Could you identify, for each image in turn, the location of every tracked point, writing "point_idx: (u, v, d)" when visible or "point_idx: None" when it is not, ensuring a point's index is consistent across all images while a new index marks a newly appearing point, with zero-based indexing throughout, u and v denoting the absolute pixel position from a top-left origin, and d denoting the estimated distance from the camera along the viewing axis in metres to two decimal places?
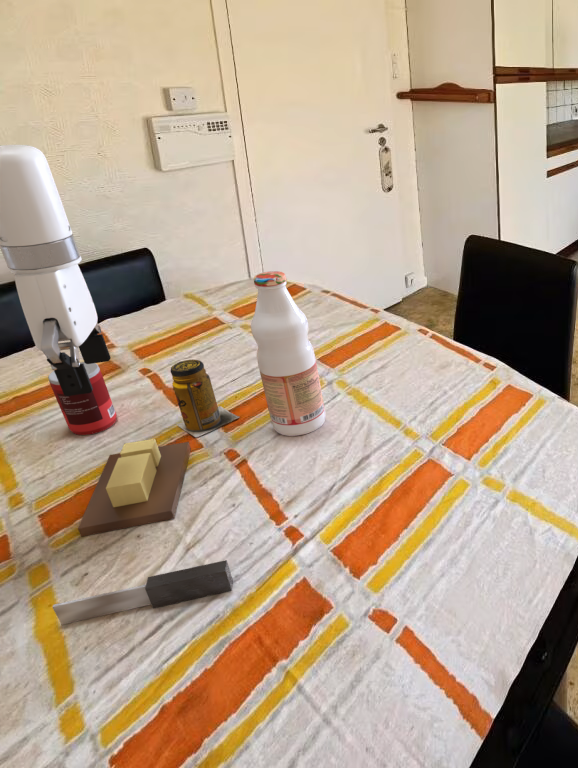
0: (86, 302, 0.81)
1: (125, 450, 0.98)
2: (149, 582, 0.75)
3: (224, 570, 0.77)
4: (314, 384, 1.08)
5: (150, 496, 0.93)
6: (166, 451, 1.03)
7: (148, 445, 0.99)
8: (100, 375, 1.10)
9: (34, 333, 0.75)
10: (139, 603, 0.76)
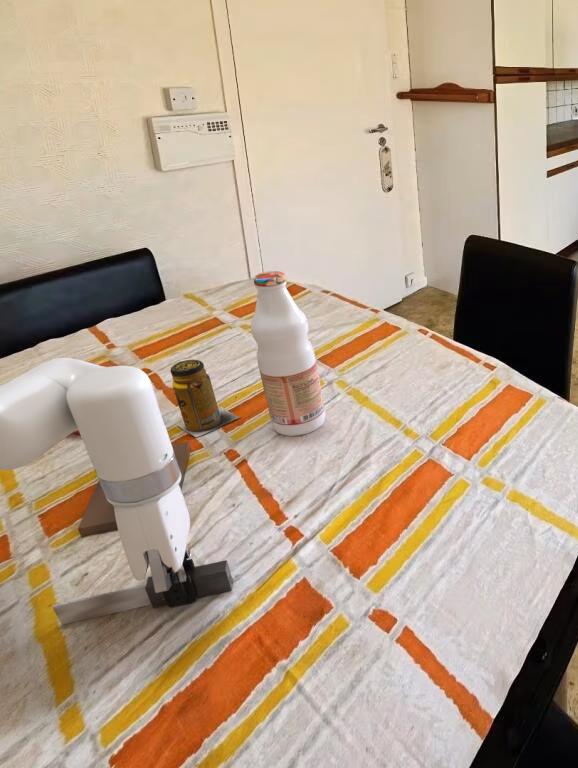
0: (183, 514, 0.74)
1: None
2: (149, 582, 0.75)
3: (224, 570, 0.77)
4: (314, 384, 1.08)
5: None
6: None
7: None
8: None
9: (133, 566, 0.68)
10: (139, 603, 0.76)
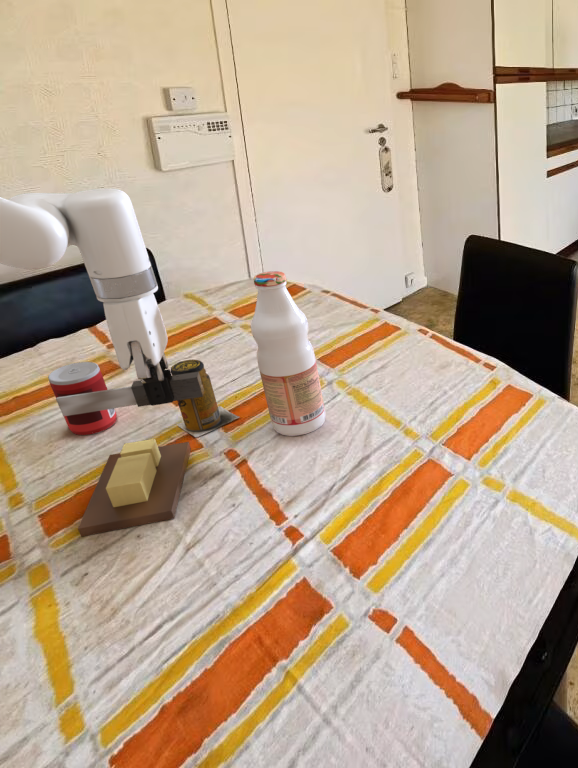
0: (160, 325, 0.91)
1: (125, 450, 0.98)
2: (134, 384, 0.92)
3: (196, 377, 0.94)
4: (314, 384, 1.08)
5: (150, 496, 0.93)
6: (166, 451, 1.03)
7: (148, 445, 0.99)
8: (100, 375, 1.10)
9: (119, 354, 0.85)
10: (126, 402, 0.93)
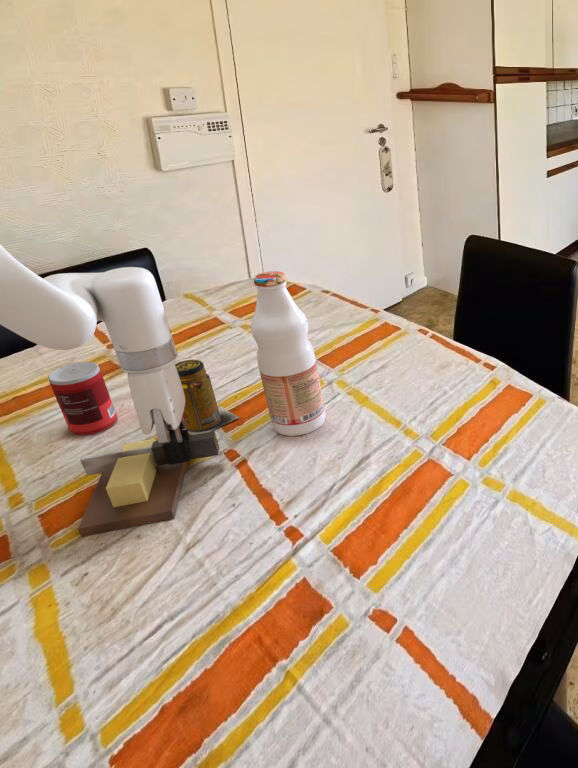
0: (179, 389, 0.96)
1: (125, 450, 0.98)
2: (154, 444, 0.97)
3: (212, 437, 0.99)
4: (314, 384, 1.08)
5: (150, 496, 0.93)
6: None
7: (148, 445, 0.99)
8: (100, 375, 1.10)
9: (141, 421, 0.90)
10: None
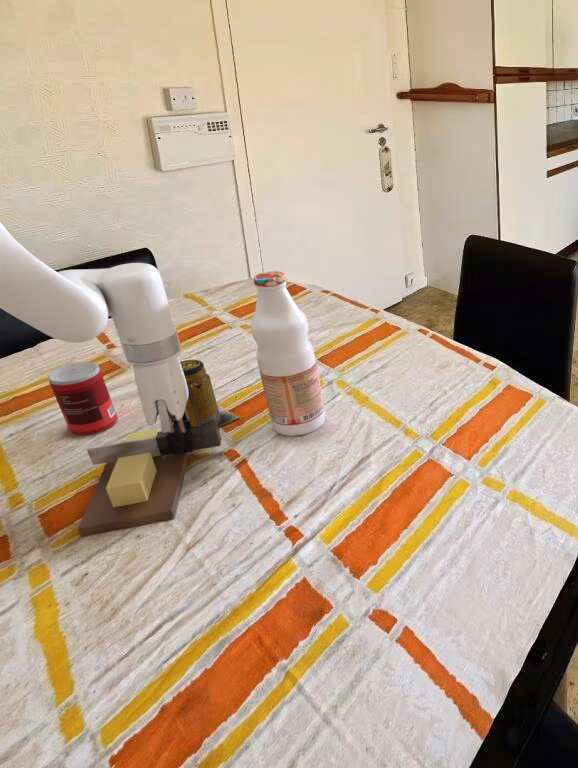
0: (183, 382, 0.99)
1: (129, 439, 1.00)
2: (158, 435, 1.00)
3: (215, 428, 1.02)
4: (314, 384, 1.08)
5: (150, 496, 0.93)
6: None
7: (152, 435, 1.01)
8: (100, 375, 1.10)
9: (146, 412, 0.93)
10: (151, 451, 1.01)
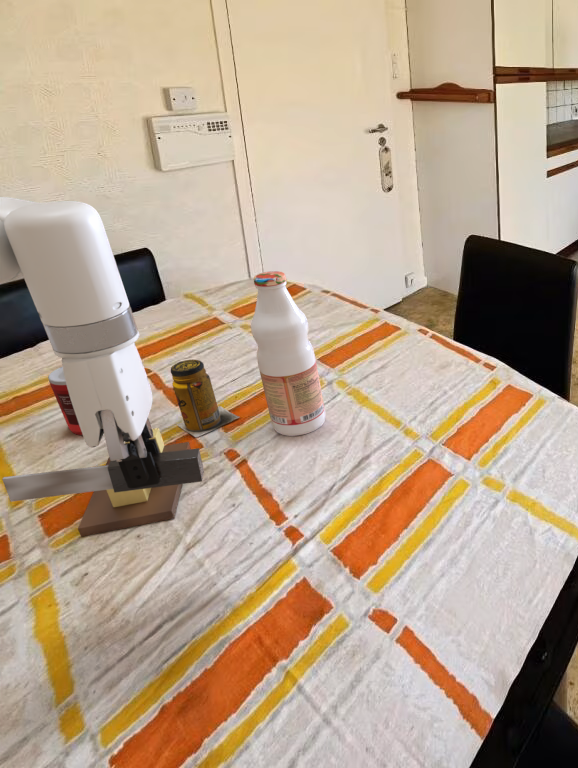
0: (142, 383, 0.67)
1: None
2: (112, 462, 0.69)
3: (196, 457, 0.71)
4: (314, 384, 1.08)
5: (150, 496, 0.93)
6: (166, 451, 1.03)
7: None
8: None
9: (84, 428, 0.62)
10: (99, 485, 0.70)
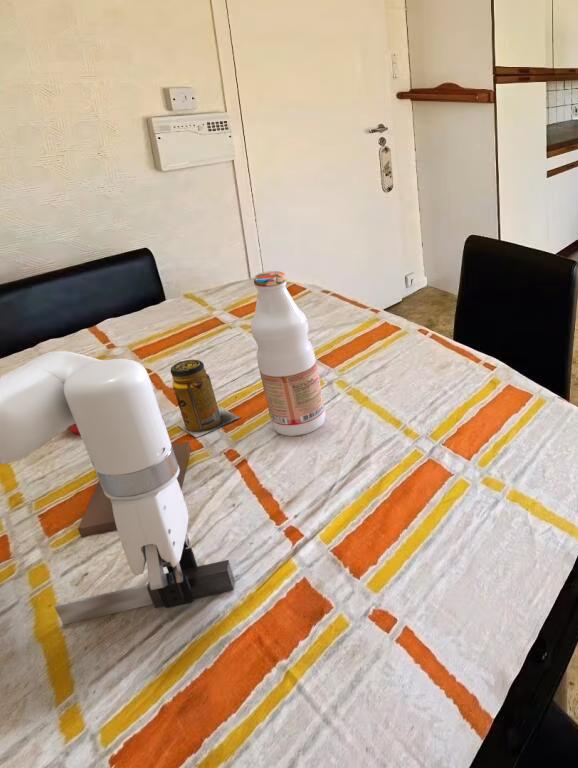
0: (181, 508, 0.73)
1: None
2: None
3: (226, 570, 0.77)
4: (314, 384, 1.08)
5: None
6: None
7: None
8: None
9: (131, 560, 0.68)
10: (141, 602, 0.76)
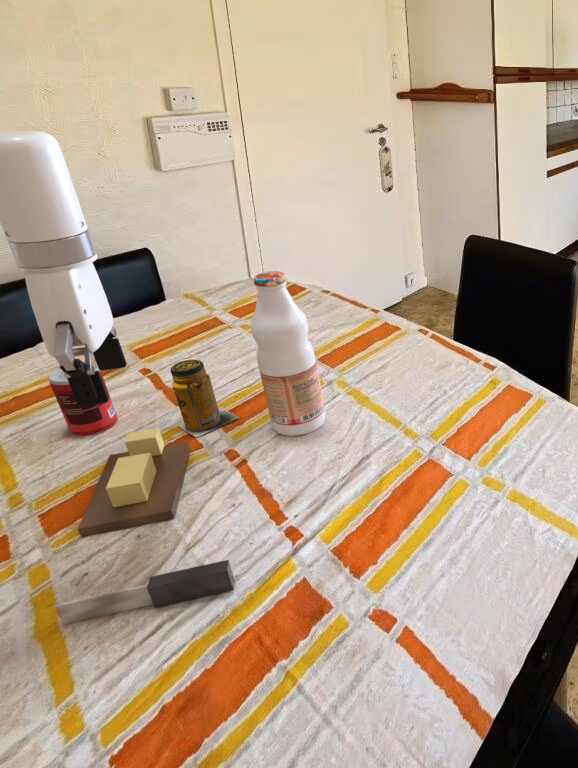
0: (102, 304, 0.75)
1: (130, 439, 1.00)
2: (151, 582, 0.75)
3: (226, 570, 0.77)
4: (314, 384, 1.08)
5: (150, 496, 0.93)
6: (166, 451, 1.03)
7: (152, 434, 1.02)
8: None
9: (46, 338, 0.69)
10: (141, 602, 0.76)
